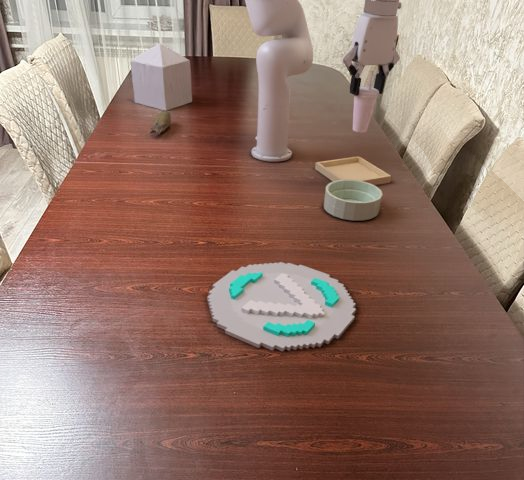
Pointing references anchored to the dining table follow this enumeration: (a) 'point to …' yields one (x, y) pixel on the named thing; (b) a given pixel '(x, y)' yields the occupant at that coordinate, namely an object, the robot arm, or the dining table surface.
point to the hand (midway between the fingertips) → (366, 92)
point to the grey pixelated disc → (281, 306)
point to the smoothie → (364, 107)
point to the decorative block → (161, 78)
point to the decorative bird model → (161, 122)
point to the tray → (352, 170)
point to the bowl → (352, 199)
